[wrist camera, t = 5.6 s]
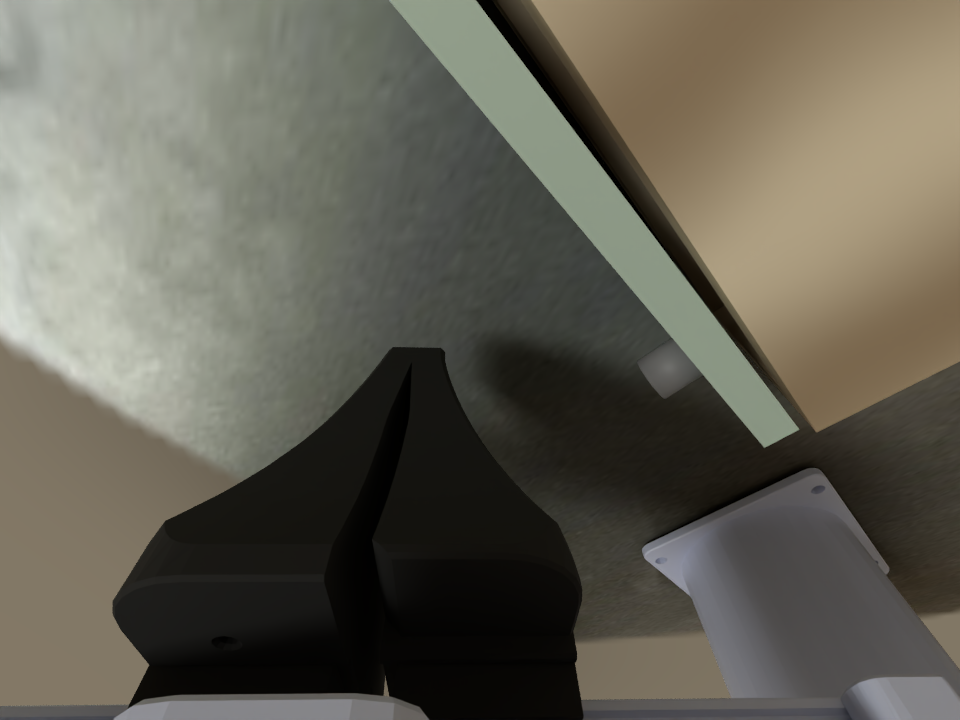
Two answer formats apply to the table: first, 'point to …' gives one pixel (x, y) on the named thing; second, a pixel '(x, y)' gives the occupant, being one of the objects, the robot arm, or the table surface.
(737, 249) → the cabinet
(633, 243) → the cabinet door
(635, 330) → the table surface
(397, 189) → the table surface
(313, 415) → the table surface
